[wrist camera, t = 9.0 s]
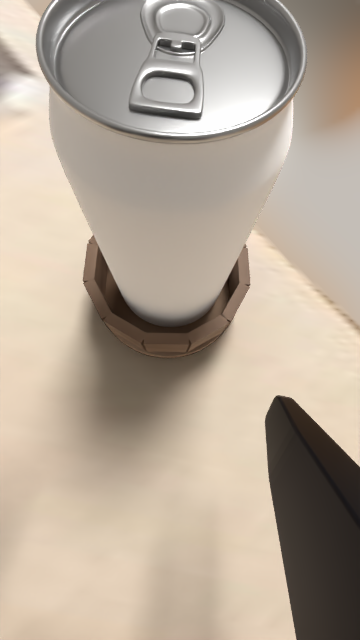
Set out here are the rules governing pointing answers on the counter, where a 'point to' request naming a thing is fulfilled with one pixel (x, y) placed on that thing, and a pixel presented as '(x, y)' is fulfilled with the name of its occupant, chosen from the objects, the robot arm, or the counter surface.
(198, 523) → the counter surface
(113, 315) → the holder
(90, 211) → the can
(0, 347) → the counter surface
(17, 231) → the counter surface
